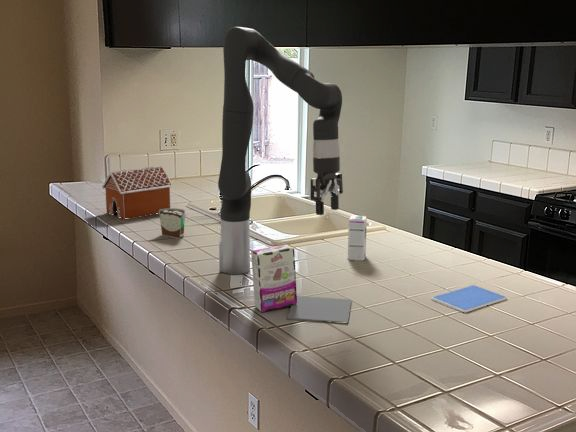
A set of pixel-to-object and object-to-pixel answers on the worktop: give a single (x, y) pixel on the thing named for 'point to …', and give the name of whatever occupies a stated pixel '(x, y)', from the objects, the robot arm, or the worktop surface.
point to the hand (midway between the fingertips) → (327, 212)
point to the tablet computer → (469, 298)
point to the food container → (172, 222)
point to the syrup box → (357, 237)
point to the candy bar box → (274, 277)
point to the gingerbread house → (137, 191)
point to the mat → (320, 309)
